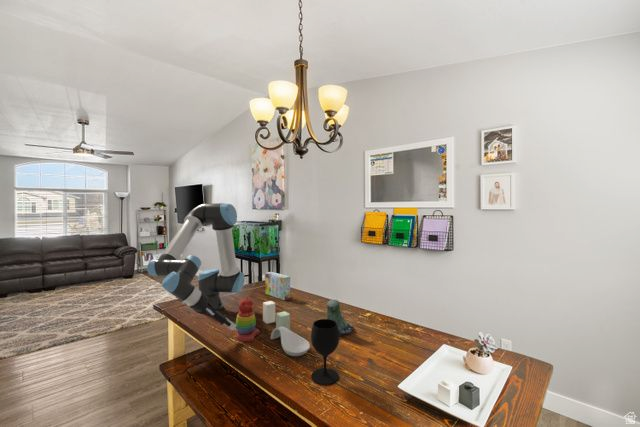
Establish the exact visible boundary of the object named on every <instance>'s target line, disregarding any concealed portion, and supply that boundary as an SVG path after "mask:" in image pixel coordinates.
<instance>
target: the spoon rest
mask: <svg viewBox="0 0 640 427" xmlns="http://www.w3.org/2000/svg"><path fill="white" fill-rule="evenodd" d="M279 331H280V334H281V337H280V336H279ZM269 338H270V340H275V339H278V338H280V343H281V347H282V350H283V352H284V353H285V354H287V355H288V356H291V357H300V356H303V355H305V354H306V353H307V352H308V351H309V350H310V349H311V345H310V342H309V341H308V340H306V339H305V338H304V337H302V336H301V335H298V334H297V333H295V332H294V331H292V330H291V329H290V330H289V329H287V328H285V327H279V328H276V327H275V328H274V329H273V330H272V331H271V334H270V337H269Z"/></svg>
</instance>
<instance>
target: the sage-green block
mask: <svg viewBox="0 0 640 427" xmlns="http://www.w3.org/2000/svg"><path fill="white" fill-rule="evenodd" d="M279 327H285V328H287V329H289V330H290V331H291V314H290V313H289V312H287V311H285V310H284V311H281V312H280V311H279V312H277V313H276V312H275V328H279ZM279 338H281V334H280V331H279Z"/></svg>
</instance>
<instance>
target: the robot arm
mask: <svg viewBox="0 0 640 427" xmlns="http://www.w3.org/2000/svg"><path fill="white" fill-rule="evenodd" d="M237 218H238V212H237V210H236V208H235V206H234V205H233V204H231V203H226V202H225V203H224V202H223V203H222V202H221V203H202V204H199V205H197V206H196V207H194V208H193V209H192V210H190V211H189V212H188V214H187V215H186V216H185V217H184V218H183V223H182V225H181V226H180V228H179V229H178V230H177V232H176V233H175V234H174V236H173V237H172V239H171V241H170V242H169V243H168V245H167V246H166V247H165V249H164V250H163V252H162V253H161V255H160V256H159V258H155V259H151V260H150V261H148V263H147V266H146V267H147V268H146V270H147V271H146V272H147V273H148V275H149V276H152V277H159V278H160V277H165V278H164V279H163V280H162V282H161V287H162V288H163V289H164V290H165V291H167V292H168V293H169V294H171V295H172V296H174V297H175V298H177V300H179V301H180V302H182V305H187V306H188V307H190V309H192V310H193V311H194V312H197V313H199V314H200V313H201V314H206V315H208V316H209V317H211V318H213V319H214V320H216V321H218V322H219V323H220V325H221V326H223V325H224V327H226V328H228V329H229V330H231V331H232V332H233V331H235V329H236V323H234V322H232V321H231V320H230V319H229V318H227V315H225V314H224V315H223V313H221V312H220V311H221V310H222V309H223V308H224V306H223V305H224V304H223V301H222V298H221V296H220V293H231V294H234V293H235V294H237V293H240V292H241V291H242V290H243V287H244V283H245V274H244V273H243V272H241V271H240V267H239V266H237V258H236V252H235V245H234V244H235V243H234V237H233V236H234V234H233V228H234V227H235V225H236V224H237V221H238V219H237ZM205 225H211V229H212V230H213V231H214V232H215V234H216V235H215V236H216V242H217V248H218V256H219V262H220V268H221V269H219V268H211V269H206V270H203V271H201V272H199V269H200V268H201V265H202V261H201V259H200V257H198V256H196V255H195V254H194V255H193V254H189V255H187V256H186V257H185V258H184V259H180V257H181V256H182V255H183V253H184V251H185V250H186V248H187V247H188V245H189V244H190V243H191V241H192V240H193V238H194V236H195V235H196V233H197V231H198V230H201V229H202V227H203V226H205ZM198 272H199V273H198ZM197 273H198V279H197V280H198V281H197V282H198V288H197V287H196V286H194V285H193V284H192V283H191V282H193V280H194V278H195V276H196V274H197Z"/></svg>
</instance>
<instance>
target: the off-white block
mask: <svg viewBox="0 0 640 427" xmlns="http://www.w3.org/2000/svg"><path fill="white" fill-rule="evenodd" d="M262 321H263V323H264V324H267V325H269V324H272V323H276V302H275V301H273V300H268V301H264V302H262Z"/></svg>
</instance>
